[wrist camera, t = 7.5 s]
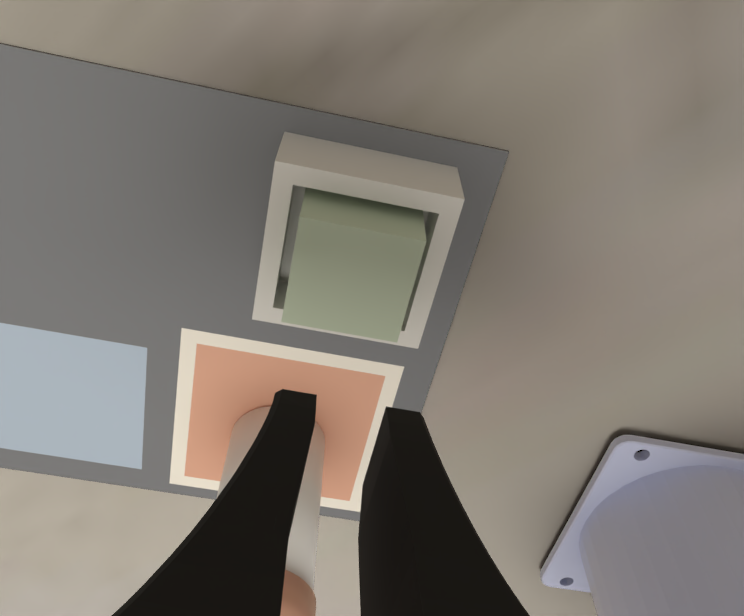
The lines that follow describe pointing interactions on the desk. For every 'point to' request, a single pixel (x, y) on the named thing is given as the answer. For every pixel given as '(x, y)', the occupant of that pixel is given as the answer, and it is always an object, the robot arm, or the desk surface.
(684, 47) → the desk surface
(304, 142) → the button housing
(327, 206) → the button
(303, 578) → the cylinder
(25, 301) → the picture sheet
